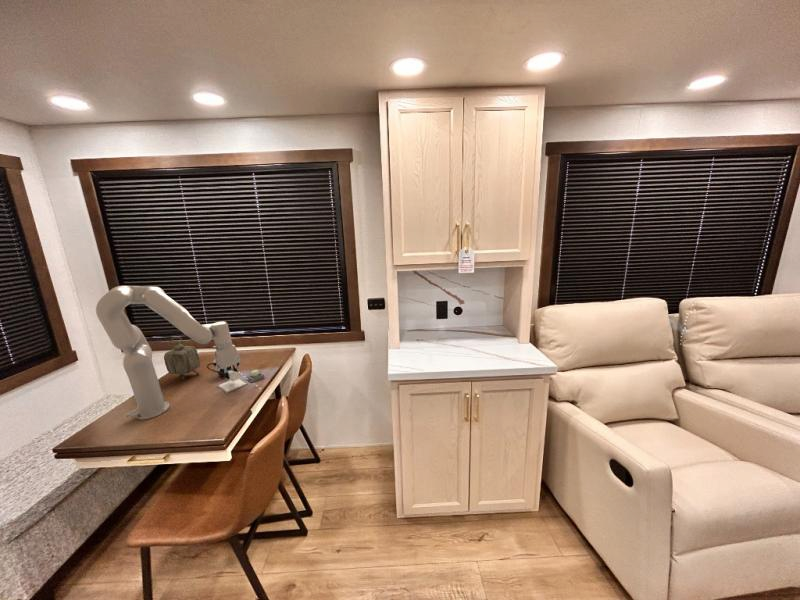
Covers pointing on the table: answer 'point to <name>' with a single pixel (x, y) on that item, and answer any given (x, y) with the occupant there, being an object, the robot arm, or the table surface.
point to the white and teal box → (233, 375)
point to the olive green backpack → (182, 359)
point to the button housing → (255, 377)
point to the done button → (254, 373)
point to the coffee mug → (221, 374)
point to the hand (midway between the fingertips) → (231, 376)
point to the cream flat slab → (232, 385)
